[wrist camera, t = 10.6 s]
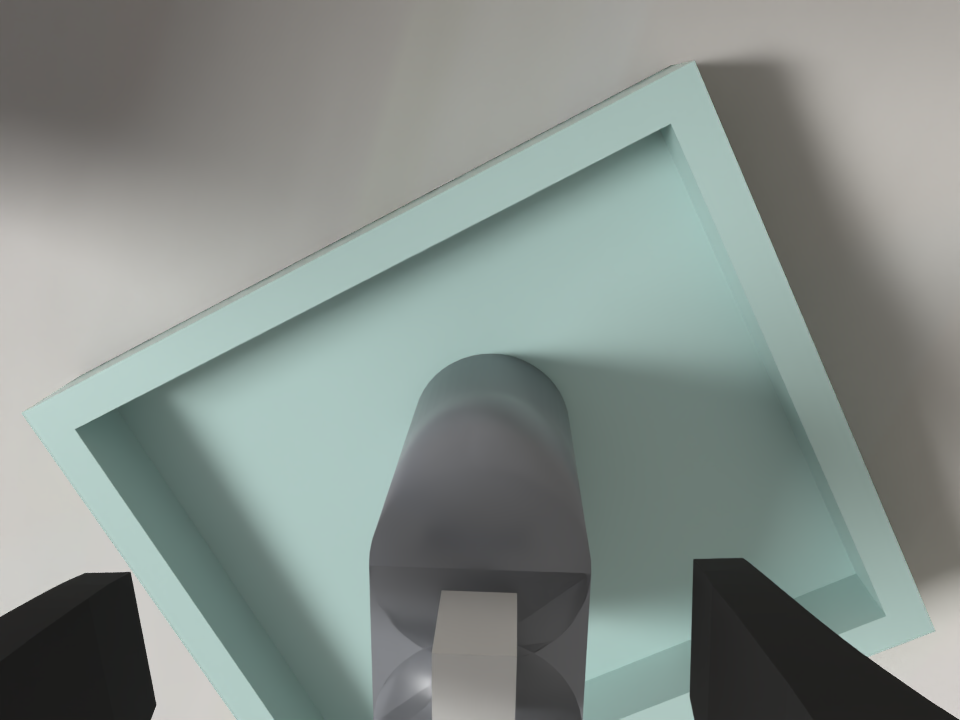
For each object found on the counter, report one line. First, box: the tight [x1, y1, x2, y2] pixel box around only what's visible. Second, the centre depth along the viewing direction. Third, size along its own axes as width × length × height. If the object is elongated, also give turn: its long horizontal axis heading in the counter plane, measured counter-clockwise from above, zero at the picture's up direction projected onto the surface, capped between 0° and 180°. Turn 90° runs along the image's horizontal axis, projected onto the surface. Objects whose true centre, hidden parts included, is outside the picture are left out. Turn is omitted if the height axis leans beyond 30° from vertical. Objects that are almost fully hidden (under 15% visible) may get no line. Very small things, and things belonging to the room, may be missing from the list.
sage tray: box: [22, 60, 935, 720], centre depth 19 cm, size 15×13×2 cm
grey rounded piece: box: [369, 354, 591, 720], centre depth 16 cm, size 4×6×8 cm, turn 179°
